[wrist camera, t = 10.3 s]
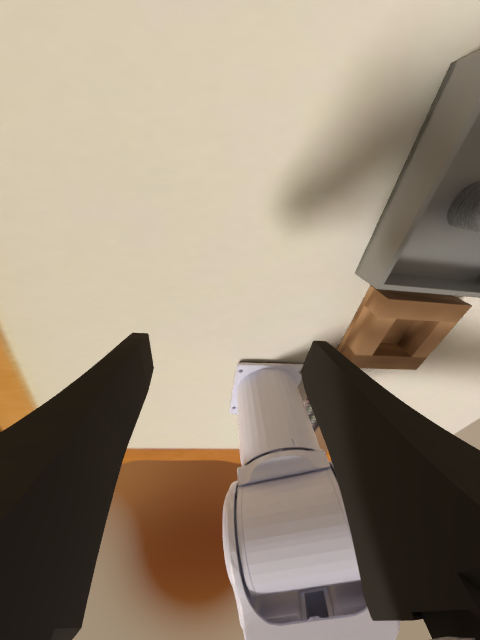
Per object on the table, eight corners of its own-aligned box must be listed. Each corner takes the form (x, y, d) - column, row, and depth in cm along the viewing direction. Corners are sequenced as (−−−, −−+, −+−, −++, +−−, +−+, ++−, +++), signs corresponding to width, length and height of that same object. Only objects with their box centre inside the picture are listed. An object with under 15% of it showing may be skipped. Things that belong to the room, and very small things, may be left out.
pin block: (399, 353, 24) (416, 369, 22) (336, 350, 23) (347, 367, 21) (446, 292, 20) (472, 305, 18) (370, 285, 19) (388, 299, 17)
